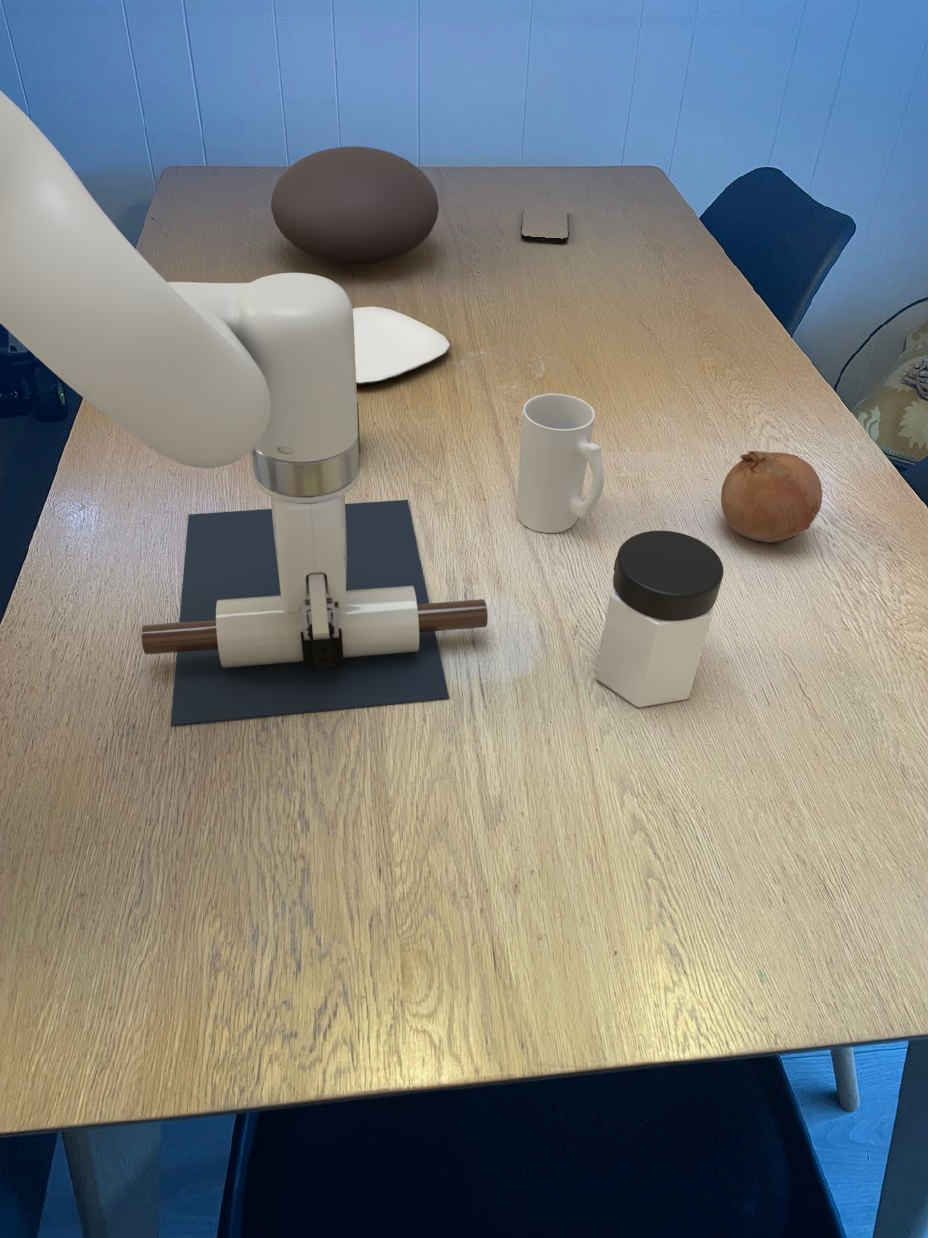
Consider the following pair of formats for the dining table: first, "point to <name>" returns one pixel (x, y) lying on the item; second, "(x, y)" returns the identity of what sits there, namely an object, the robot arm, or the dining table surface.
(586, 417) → the mug
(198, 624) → the rolling pin
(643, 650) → the jar
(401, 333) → the plate
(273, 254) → the dining table surface
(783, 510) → the onion
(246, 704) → the baking mat
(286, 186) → the smooth stone
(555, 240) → the smartphone
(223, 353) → the robot arm
